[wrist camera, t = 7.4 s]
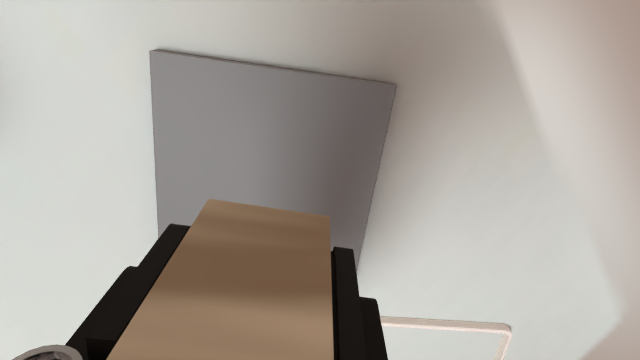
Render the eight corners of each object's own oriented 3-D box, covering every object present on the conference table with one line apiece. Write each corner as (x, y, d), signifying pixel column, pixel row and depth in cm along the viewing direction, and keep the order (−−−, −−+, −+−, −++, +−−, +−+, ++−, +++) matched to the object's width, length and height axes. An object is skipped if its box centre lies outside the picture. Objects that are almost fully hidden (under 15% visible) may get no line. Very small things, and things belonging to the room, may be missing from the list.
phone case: (507, 319, 34) (346, 310, 34) (514, 331, 33) (347, 321, 32) (487, 375, 37) (339, 366, 37) (493, 388, 36) (339, 379, 35)
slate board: (155, 49, 24) (149, 50, 23) (394, 83, 25) (396, 86, 24) (168, 353, 35) (164, 362, 34) (332, 370, 36) (332, 380, 35)
